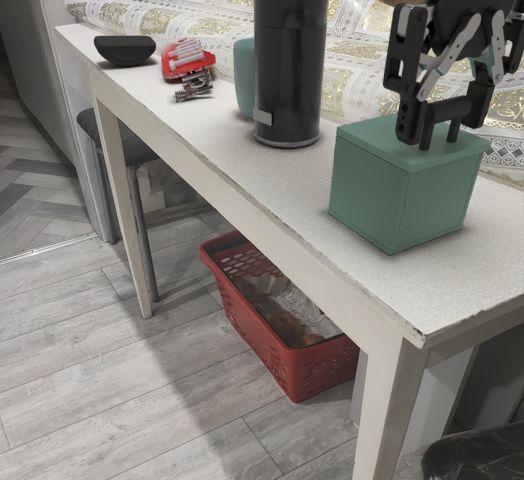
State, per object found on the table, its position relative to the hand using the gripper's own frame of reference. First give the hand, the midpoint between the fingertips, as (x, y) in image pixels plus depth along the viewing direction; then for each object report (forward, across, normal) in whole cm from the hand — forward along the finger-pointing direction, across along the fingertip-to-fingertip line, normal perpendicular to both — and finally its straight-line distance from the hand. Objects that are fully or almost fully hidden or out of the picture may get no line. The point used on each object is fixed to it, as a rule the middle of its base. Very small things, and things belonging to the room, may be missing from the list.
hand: (439, 133), depth 47 cm
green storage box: (+11, 0, +4) cm, 11 cm away
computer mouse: (+6, -2, +78) cm, 79 cm away
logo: (+7, +8, +61) cm, 62 cm away
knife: (+10, +2, +64) cm, 64 cm away
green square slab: (+2, 0, +3) cm, 4 cm away
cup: (+11, +5, +39) cm, 41 cm away
